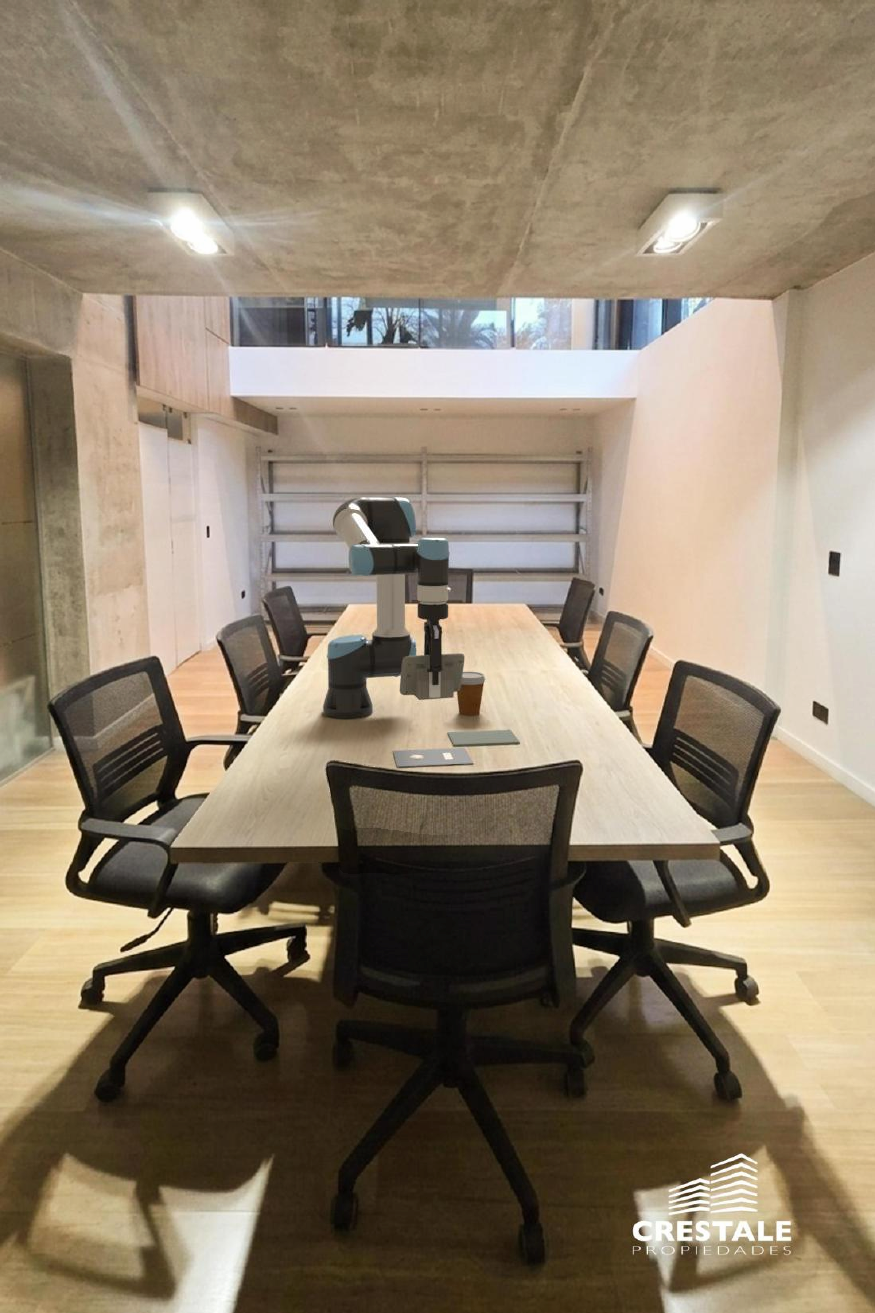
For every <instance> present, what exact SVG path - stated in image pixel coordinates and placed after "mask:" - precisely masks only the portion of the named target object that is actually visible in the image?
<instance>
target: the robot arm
mask: <svg viewBox="0 0 875 1313" xmlns="http://www.w3.org/2000/svg"><path fill="white" fill-rule="evenodd" d="M415 515H416V514H415V511H414V508H413V505H412V503H411V502H410V500H408V499H407V498H405V497H395V496H392V497H391V496H390V497H387V496H385V497H378V496H377V497H375V496H374V497H373V496H372V497H371V496H370V497H364V496H363V497H361V496H359V497H355V498H351V499H349V500H346V501H344V503H342V504H341V505H340V506H339V507H337V509H336V510H335V512H334V515H333V516H332V527H333V529H334V531H335V533H336V535H337V536H338V537H339V538H340V539H342V540H343V541H344V542H345V543H346V545H347V547H348V566H349V571H350V573H351V574H352V575H354V576H355V575H356V576H364V577H367V576H376V582H375V583H376V629H374V631H373V632H372V634H371V636H372V638H371V639H367V638H366V635H363V634H356V635H355V634H350V635H344V636H340V637H336V638H333V639H332V640H330V641H329V643H328V645H327V652H326V653H327V655H326V659H327V680H328V681H327V682H328V683H327V686H328V687H327V692H326V695H325V698H324V702H323V704H322V712H323V715H325V716H327V717H329V718H333V719H344V720H345V719H348V720H349V719H358V718H364V717H367V716H370V715H371V714H372V713H373V710H374V709H373V702H372V699H371V697H370V693H369V691H368V687H367V686H368V685H367V679H371V678H385V677H387V678H388V677H389V678H390V677H394V678H397V677H401V668H402V660H403V658H404V657H407V656H417V642H416V640H415V639H414V638H413V637H411V632H410V631H409V630H408V629H407V628H406V594H405V593H406V590H405V589H406V586H405V585H406V583H405V582H406V580H405V579H406V576H405V575H417V586H416V587H417V588H416V590H417V594H416V595H417V596H416V599H417V601H418V603H417V618H418V619H421V620H425V621H424V623H423V631H424V645H423V655H430V669H428V670H427V672H429V698H438V697H440V684H441V671H442V654H443V652H442V651H443V650H442V648H443V645H442V643H443V642H442V639H443V638H442V636H443V635H442V634H443V626H441V625H440V620H446V619H447V618H448V617H449V604H448V603H447V601H448V600H449V593H451V591H452V590H451V588H450V587H449V574H450V573H449V572H450V571H449V569H450V568H449V567H450V565H449V564H450V560H449V559H450V550H449V546H450V544H449V540H448V539H447V538H444V537H442V538H441V537H421V538H419V539H418V541H417V542H415V543H410V541H411V540H410V538H413V537H415V536H416V529H417V522H416V521H417V520H416V516H415Z"/></svg>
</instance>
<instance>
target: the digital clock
mask: <svg viewBox="0 0 875 1313" xmlns="http://www.w3.org/2000/svg"><path fill="white" fill-rule="evenodd" d="M465 659H466V658H465V655H464V653H459V652H458V653H442V671H441V684H440V697H438V698H429V672H427V670H428V669H430V655H424V654H421V655H416V656H407V657H404V658H403V660H402V668H401V676H400V681H399V682H400V683H399V693H400V695H402V696H414V697H415V698H417V700H419V701H424V700H438V699H452V698H454V694H455V693H457V691H459V690H460V688H461V682H462V674H463V672H464V665H465Z"/></svg>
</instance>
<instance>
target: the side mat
mask: <svg viewBox="0 0 875 1313" xmlns="http://www.w3.org/2000/svg"><path fill="white" fill-rule="evenodd" d="M447 735H448V736H447V737H450V738H449V740H450V742H451V741H452V742H451V743H452V745H453V747H465V746H467V747H468V746H470V747H471V746H472V745H473V746H494V745H517V744H519V745H520V743H521V741H520V740H519V739H518V737H517V736H516V735H515V733H514V732H513V731H512V730H511V729H498V730H497V729H496V730H471V731H470V730H469V731H467V730H466V731H448V732H447Z"/></svg>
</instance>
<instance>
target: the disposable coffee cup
mask: <svg viewBox="0 0 875 1313" xmlns="http://www.w3.org/2000/svg"><path fill="white" fill-rule="evenodd" d="M485 681H486V678H485V675H484V673H482V672H478V671H463V674H462V682H461V688H460V690H459V691H457V692H456V695H457V704H458V712H459V714H460V715H462V716H476V715H480V714H481V713H480V712H481V705H482V698H483V691H484V683H485Z"/></svg>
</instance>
